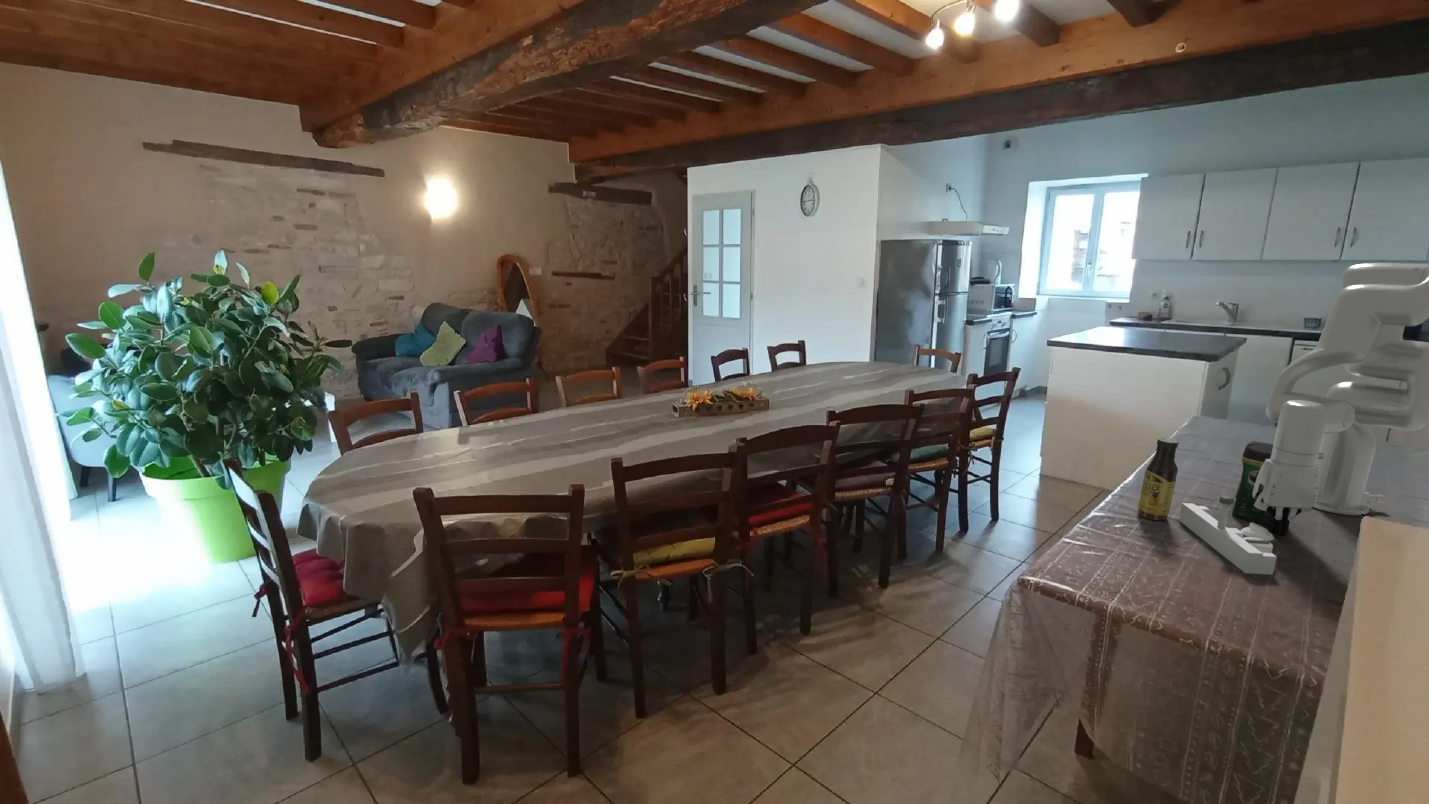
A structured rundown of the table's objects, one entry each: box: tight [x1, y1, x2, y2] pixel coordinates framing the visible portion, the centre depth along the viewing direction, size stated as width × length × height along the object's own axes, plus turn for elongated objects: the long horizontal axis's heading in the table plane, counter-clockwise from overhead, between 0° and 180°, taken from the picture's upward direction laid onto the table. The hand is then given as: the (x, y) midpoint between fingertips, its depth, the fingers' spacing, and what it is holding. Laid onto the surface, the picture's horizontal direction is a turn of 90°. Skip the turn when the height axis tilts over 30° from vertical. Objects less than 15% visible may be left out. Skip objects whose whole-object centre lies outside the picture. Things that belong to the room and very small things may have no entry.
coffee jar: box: [1231, 440, 1274, 525], centre depth 151 cm, size 10×8×19 cm
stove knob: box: [1238, 522, 1278, 545], centre depth 143 cm, size 7×7×3 cm
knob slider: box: [1242, 537, 1274, 554], centre depth 132 cm, size 5×5×4 cm
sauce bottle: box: [1137, 437, 1179, 521], centre depth 152 cm, size 6×6×20 cm
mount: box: [1178, 495, 1277, 576], centre depth 138 cm, size 5×25×12 cm, turn 170°
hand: (1276, 533), depth 142 cm, fingers closed
